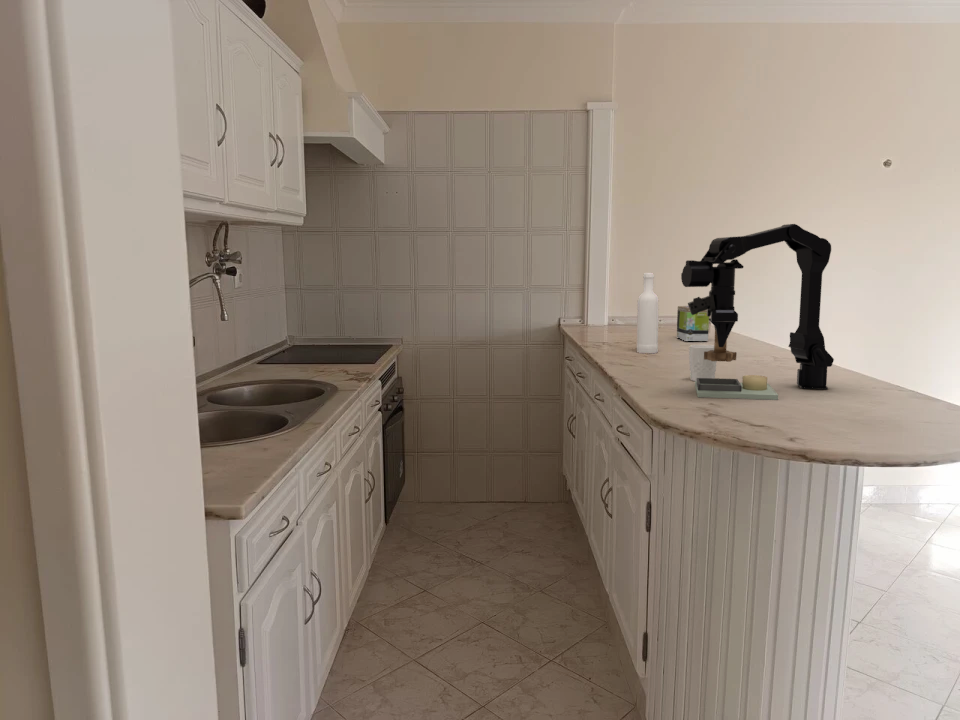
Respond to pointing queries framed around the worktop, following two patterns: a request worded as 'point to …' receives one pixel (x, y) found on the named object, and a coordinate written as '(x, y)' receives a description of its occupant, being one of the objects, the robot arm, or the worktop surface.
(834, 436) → the worktop surface
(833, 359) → the robot arm
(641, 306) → the bottle
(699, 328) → the tea box
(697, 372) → the white cup
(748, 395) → the carrier plate
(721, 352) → the planet gear
